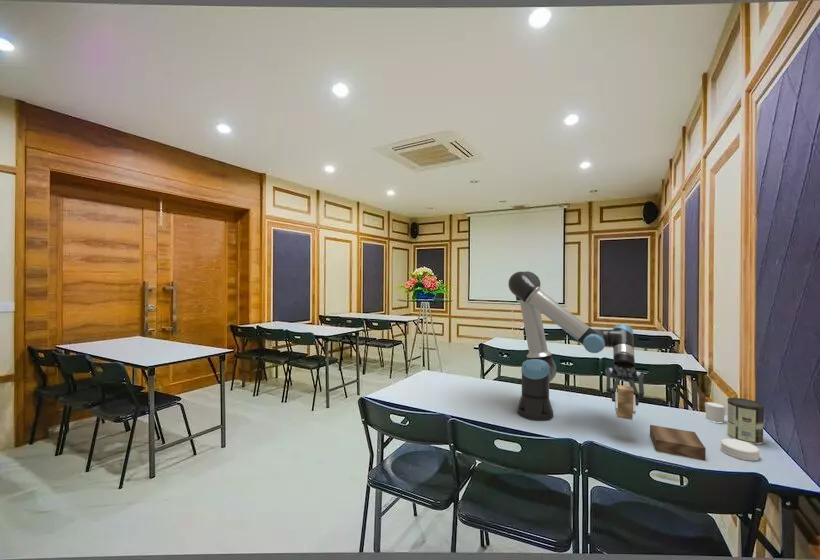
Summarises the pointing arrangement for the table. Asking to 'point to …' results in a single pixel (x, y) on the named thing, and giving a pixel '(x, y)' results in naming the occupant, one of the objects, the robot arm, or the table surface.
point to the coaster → (740, 449)
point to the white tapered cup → (715, 411)
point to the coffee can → (745, 420)
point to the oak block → (625, 402)
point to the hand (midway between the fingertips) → (625, 410)
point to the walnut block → (677, 442)
